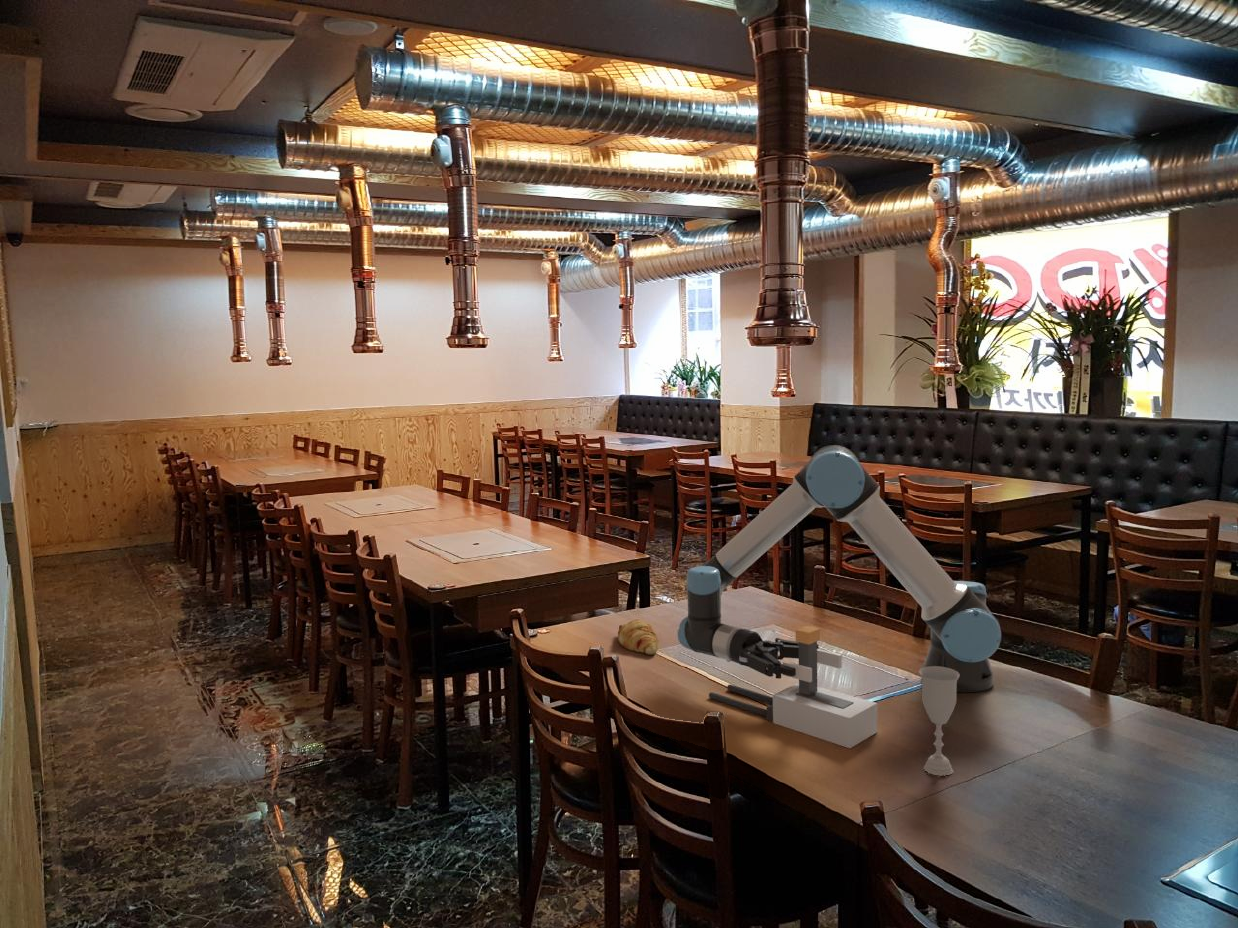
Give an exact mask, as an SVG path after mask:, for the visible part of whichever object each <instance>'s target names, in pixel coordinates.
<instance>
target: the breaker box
mask: <svg viewBox="0 0 1238 928" xmlns="http://www.w3.org/2000/svg"><path fill="white" fill-rule="evenodd" d="M772 697H773V704H772V705H773V721H772V723H773V724H776V725H779V726H781V727H784V728H788V729H791V730H794V731H796V732H800V733H802V734H805V735H808V736H812V737H815V738H818V739H821V740H824V741H827V742H829V743H834V744H836V745H839V746H842V747H845V748H848V749H852V748H853V747H856V746H857V745H858V744H860V743H862V742H863V741H865V740H867V739H868V738H870V737H871V736H873V735H875V734H876V733H878V703H877V702H874V701H871V700H868V699H864V698H860V697H857V696H853V695H850V694H846V693H843V692H839V691H835V690H833V689H830V688H825V687H821V686H818V685H817V692H815V693H813V694H811V695H806V694H802V693H799V682H797V683H795V684H793V685H791V686H788V687H787V688H784V689H782V690H780V691H778V692H775V693H774V694H773V693H772Z"/></svg>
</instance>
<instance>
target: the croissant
mask: <svg viewBox="0 0 1238 928" xmlns="http://www.w3.org/2000/svg"><path fill="white" fill-rule="evenodd" d="M617 639H618V643H619V644H620V646H622V647H624V649H627V650H628V651H629V650H630V651H635V652H637V653H642V654H644V653H645V654H646V655H654V654H656V653H657V652H658V649H659V644H660V643H659V639H658V637H657V634H656V632H655V631H654V629H653V627H652V625H650V624H649V623H647V622H645V621H641V620H640V619H635V620H632V621H628V622H626V623H624V624H620V625H619V626H618V631H617Z"/></svg>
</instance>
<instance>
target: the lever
mask: <svg viewBox="0 0 1238 928" xmlns="http://www.w3.org/2000/svg"><path fill="white" fill-rule="evenodd" d="M820 632H821V629H820V627H814V626H809V625H804V626H801V627H799V628H797V629H795V641H796V642H798V643H799V659H798V665H802V666H806V667H809V668H812V682H806V681H803V680H799V679H798V683H799V693H802V694H806V695H811V694H813V693H815V692H817V686H818V663H817V644H818V641H820V640H821V639H820V637H821V635H820V634H821V633H820Z"/></svg>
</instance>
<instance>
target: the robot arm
mask: <svg viewBox="0 0 1238 928" xmlns="http://www.w3.org/2000/svg"><path fill="white" fill-rule="evenodd" d="M880 490H881V486H880V484H878V482H877V481H876V480H875V479H874V477H872V475H871V474H870V473H869V472H868V471H867V469H866V468H864V466H863V465H862V464H861V462H860V460H859V459H858V457H857V456H856V454H855V453H854V452H853V451H851V450H850V449H849V448H847V447H844V446H842V445H836V444H833V445H832V444H831V445H827V446H824V447H821V448H819V449H818V450H817V451H816V452H814V454H813V455H812V456H811V457H810V459H809V460H808V461H807V463H806V464H805V465H804V466H803V467H802V468H801V469H800V470H799V471H798V472H797V473H796V474H795V475H793V479H792V484H791V485H789V486H788V487H787V488H786V489H785V490H784V491H783V492H781V494H780V495H778V497H776V498H775V499H774V500H773V501H772V502H771V503H770V504H768V506H766V507H765V508H764V510H762V511H761V512H759V514H757V515H756V517H755V518H753V519H752V520H751V521H750V522H749V523H748V524H747V525H746V526H744V528H742V529H741V530H740V531H739V532H738V533H737V534H736V535H734V537H732V538H731V540H729V541H728V542H727V543H726V544H725V545H724V546H722V548H721V549H719V550H718V551H717V552H716V553H715V555H713V556H712V557H711V558H710V559H709V560H707V561H706V562H704V563H702V564H701V565H700V566H699V565H698V566H694V567H691V568H689V569H688V570H687V573H686V574H687V575H686V583H685V585H686V592H687V593H686V594H687V596H686V597H687V616H686V617H684V618H683V619H682V620H681V621H680V623H679V628H678V629H677V639H678V642H679V644H680V645H681V646H682V647H683V648H684V649H685V648H686V649H688V650H690V651H693V652H694V653H699V654H703V655H707V656H712V657H716V658H718V659H722V660H726V662H727V663H730V662H734V663H736V664H739V665H741V666H745V667H748V668H750V669H752V670H754V671H756V672H759V673H761V674H762V675H764V676H766V677H769V678H772V677H774V675H775V679H777V680H778V679H779V680H781V679H782V676H785V677H789V678H793V679H795V680H796V679H797V680H798V681H799V680H803V681H806V682H812V668H809V667H806V666H802V665H799V663H798V664H797V663H793V662H789V661H786V660H784V658H785V659H798V660H799V643H798V642H796V640H787V639H783V638H780V637H776V638H775V639H774V641H772V640H767V639H766V640H765V639H764V640H763V639H762V637H761V635H760V634H759V633H758V632H757V631H754V630H749V629H746V628H742V627H739V626H735V625H729V624H725V623H722V613H721V612H722V609H721V608H722V605H721V603H722V601H721V600H722V595H723V592H724V591H725V589H726V588H728V587H729V585H731V584H732V583H733V582H734V581H735V580H736V579H737V578H738V577H739V576H740V575H741V574H743V573H744V572H745V571H746V570H747V569H748V568H749V567H750V566H752V565H753V564H754V563H755V562H757V560H758V559H760V558H761V556H763V555H764V554H765V553H766V552H767V551H768V550H770V549H771V548H772V547H773V546H775V544H777V543H778V542H779V541H780V540H781V539H782V538H783V537H784V536H786V535H787V534H788V533H789V532H790V531H791V530H792V529H793V528H794V527H795V526H797V525H798V523H800V522H801V521H802V520H803V519H804V518H806V517H807V516H808V515H809V514H810V513H811V512H812V511H814V510H815V508H822V509H823V508H826V510H827V511H828V512H829V514H831V515H832V517H834V519H835V520H836V521H837V522H844V523H845V522H846V523H848V524H849V526H851V528H852V529H853V530H854V531H855V532H856V534H857V535H858V536H859V537H860V538H861V539H862V540H863V542H865V544H866V545H867V546H868V548H870V550H871V551H873V553H874V554H875V555H876V556H877V558H878V559H879V560H880V561H881V562H882V563H883V565H884V566H886V568H887V569H888V570H889V571H890V572H891V573H892V575H893V576H894V577H895V578H896V580H898V582H899V583H900V584H901V585H902V586H903V587H904V588H905V590H906V591H907V592H908V593H909V594H910V595H911V596H912V598H913V599H914V600H915V601H916V602H917V604H918V605H919V606H920V607H921V619H922V620H923V621H924V622H925V624H926V625H927V626H928V627H929V628H930V646H929V649H928V651H927V654H926V656H925V660H924V663H923V666H922V668H924V667H929V666H939V667H946V668H950V669H953V670H955V671H957V672H958V673H959V675H960V676H959V678H958V680H957V689H956V693H977V692H979V693H980V692H983V691H987V690H990V689H991V688H992V687H993V686H994V673H993V670H992V669H993V668H992V666H991V664H990V661H989V658H990V657H991V656H993V655H994V654H995V653H996V651H997V650H998V648H999V646H1000V644H1001V641H1002V631H1001V626H1000V622H999V621H998V619H997V618H996V616H994V615H993V614H992V612H991V610H990V609H989V607H988V606H987V596H988V594H987V589H986V586H985V585H984V584H983V583H980V582H975V581H966V580H953V579H952V577H950V576H949V574H948V573H947V572H946V571H945V570H944V568H943V567H941V565H940V564H939V563H938V562H937V561H936V560H935V559H934V557H933V556H932V555H931V554H930V553H929V552H928V550H927V549H926V548H925V547H924V546H923V545H922V544H921V542H920V541H919V540H918V539H917V538H916V537H915V535H914V534H913V533H912V532H911V531H910V530H909V529H908V528H907V526H906V525H905V524H904V523H903V522H902V521H901V520H900V518H899V517H898V516H897V515H896V514H895V513H894V512H893V511H892V509H891V508H890V507H889V506H888V505H887V503H886V502H885V501H884V500H883V499H882V498H881V496H880ZM842 655H843V654H839V653H836V652H832V651H827V650H823V649H819V644H818V643H817V664H821V665H825V666H829V667H832V668H837V669H842V667H843V664H842V659H843V657H842ZM782 660H783V661H782ZM781 661H782V662H781Z"/></svg>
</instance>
